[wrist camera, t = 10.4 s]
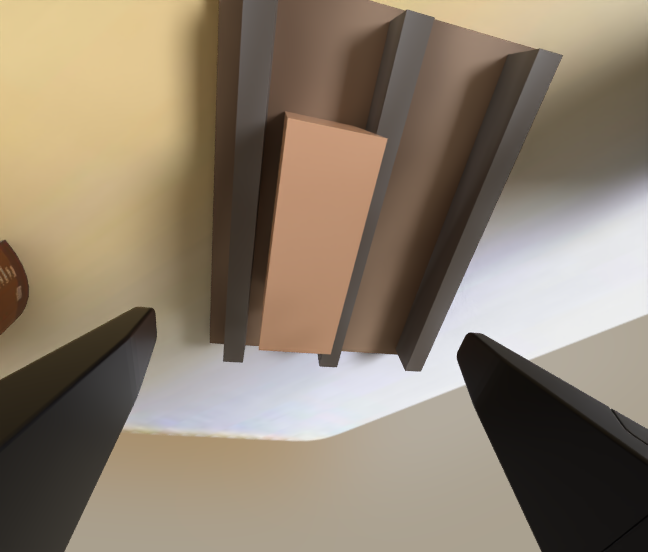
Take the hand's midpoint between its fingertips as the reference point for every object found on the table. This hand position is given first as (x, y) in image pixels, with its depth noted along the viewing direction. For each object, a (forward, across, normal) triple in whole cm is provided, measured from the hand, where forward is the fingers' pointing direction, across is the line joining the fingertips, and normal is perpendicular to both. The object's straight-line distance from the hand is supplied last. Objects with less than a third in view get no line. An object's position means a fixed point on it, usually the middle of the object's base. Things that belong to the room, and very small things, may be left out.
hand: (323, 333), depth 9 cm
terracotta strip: (+11, 0, 0) cm, 11 cm away
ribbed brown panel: (+11, -3, 0) cm, 12 cm away
